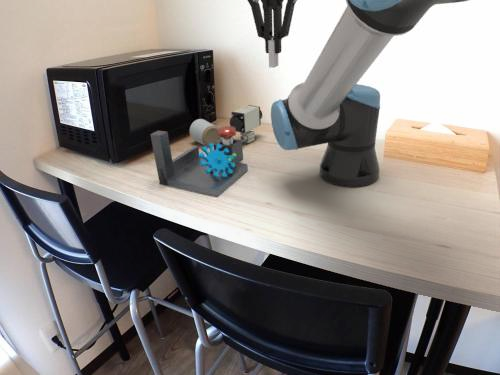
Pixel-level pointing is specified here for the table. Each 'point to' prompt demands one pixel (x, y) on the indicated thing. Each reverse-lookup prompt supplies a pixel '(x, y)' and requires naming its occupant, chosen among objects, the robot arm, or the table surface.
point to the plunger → (227, 134)
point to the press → (194, 167)
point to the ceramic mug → (204, 132)
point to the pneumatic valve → (246, 121)
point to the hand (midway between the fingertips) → (273, 66)
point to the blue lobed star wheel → (217, 160)
